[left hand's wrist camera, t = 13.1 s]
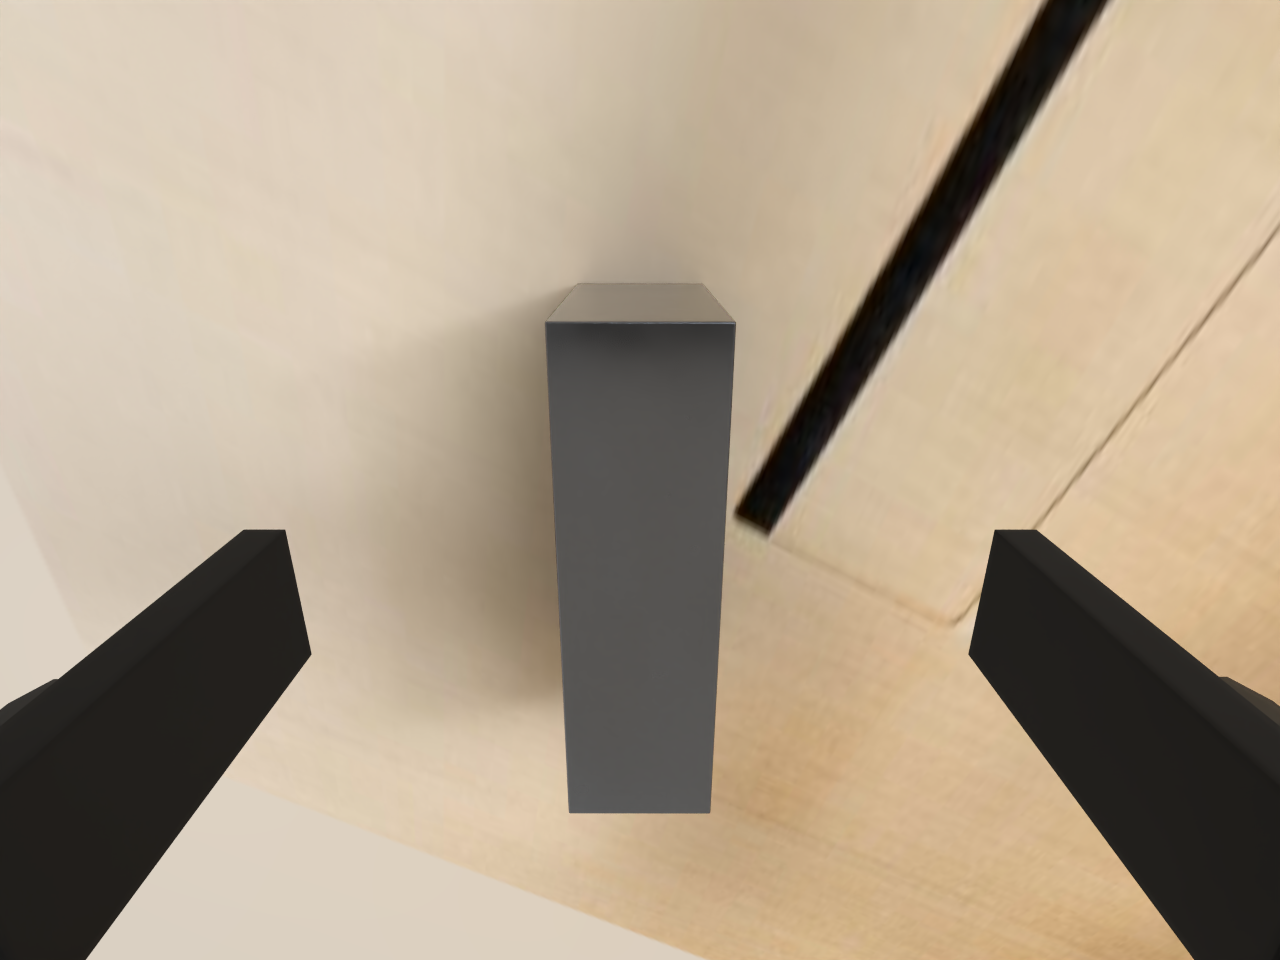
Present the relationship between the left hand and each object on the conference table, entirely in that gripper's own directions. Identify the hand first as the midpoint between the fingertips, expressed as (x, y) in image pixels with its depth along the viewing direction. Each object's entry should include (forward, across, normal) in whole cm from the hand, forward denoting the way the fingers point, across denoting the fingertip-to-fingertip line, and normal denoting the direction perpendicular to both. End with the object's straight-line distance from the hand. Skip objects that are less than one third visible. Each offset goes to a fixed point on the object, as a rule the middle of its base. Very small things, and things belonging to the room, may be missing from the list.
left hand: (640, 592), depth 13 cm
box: (+23, 0, -7) cm, 24 cm away
